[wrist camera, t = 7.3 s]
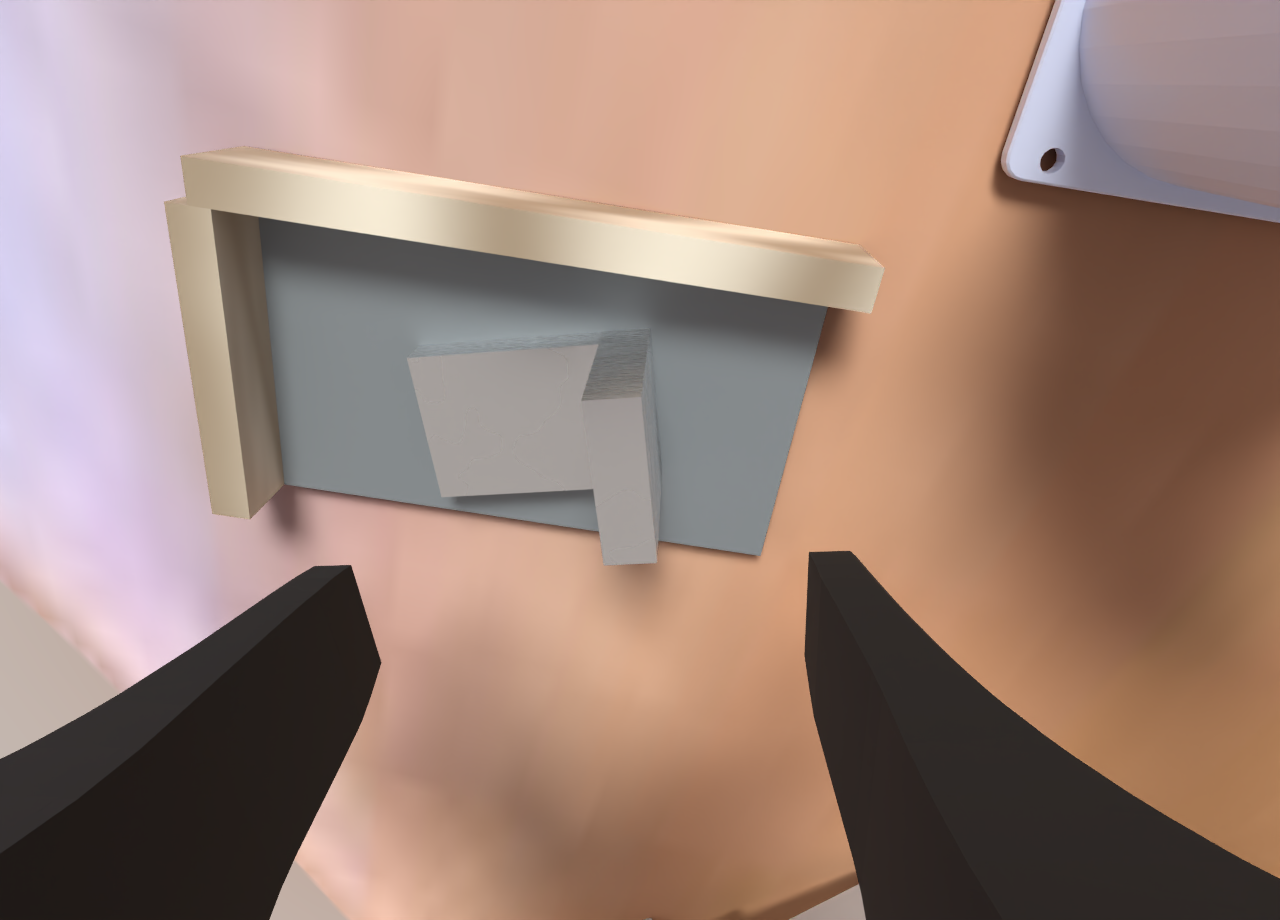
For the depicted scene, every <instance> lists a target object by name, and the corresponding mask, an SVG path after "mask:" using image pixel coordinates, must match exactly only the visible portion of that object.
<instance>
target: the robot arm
mask: <svg viewBox="0 0 1280 920" xmlns="http://www.w3.org/2000/svg"><path fill="white" fill-rule="evenodd" d="M1051 148H1054V149H1055V151H1056V153H1057V159H1056V162H1055V164H1054V165H1053V167H1052V168H1050V169H1049V170H1047V171H1042V169H1041V167H1040V160H1041V158H1042V156H1043V155H1044V153H1045V152H1046V151H1048V150H1049V149H1051ZM1001 165H1002V169H1003V171H1004V172H1005V173H1006V174H1007V176H1009V177H1012V178H1014V179H1017V180H1020V181H1026V182H1032V183H1038V184H1044V185H1050V186H1056V187H1063V188H1069V189H1075V190H1081V191H1087V192H1093V193H1099V194H1106V195H1112V196H1118V197H1124V198H1130V199H1136V200H1142V201H1149V202H1155V203H1161V204H1167V205H1173V206H1179V207H1185V208H1192V209H1198V210H1204V211H1210V212H1216V213H1222V214H1228V215H1235V216H1241V217H1247V218H1253V219H1259V220H1265V221H1271V222H1278V223H1280V0H1055V3H1054V6H1053V9H1052V12H1051V15H1050V18H1049V20H1048V23H1047V26H1046V29H1045V32H1044V35H1043V38H1042V40H1041V43H1040V46H1039V49H1038V52H1037V55H1036V57H1035V60H1034V63H1033V66H1032V69H1031V72H1030V75H1029V77H1028V80H1027V83H1026V86H1025V89H1024V92H1023V95H1022V97H1021V100H1020V103H1019V106H1018V109H1017V112H1016V115H1015V117H1014V120H1013V123H1012V126H1011V129H1010V132H1009V135H1008V137H1007V140H1006V143H1005V146H1004V149H1003V152H1002V157H1001ZM805 662H806V669H807V675H808V682H809V689H810V695H811V701H812V708H813V714H814V719H815V722H816V726H817V730H818V734H819V737H820V741H821V745H822V748H823V752H824V756H825V759H826V763H827V767H828V770H829V774H830V777H831V781H832V785H833V788H834V792H835V795H836V799H837V803H838V806H839V810H840V813H841V817H842V821H843V824H844V828H845V831H846V835H847V839H848V842H849V846H850V849H851V853H852V857H853V861H854V865H855V869H856V873H857V878H858V882H859V886H860V891H861V896H862V901H863V907H864V912H865V918H866V920H1280V879H1279V878H1277V877H1275V876H1273V875H1271V874H1269V873H1267V872H1265V871H1264V870H1262V869H1260V868H1258V867H1256V866H1254V865H1252V864H1250V863H1248V862H1246V861H1244V860H1242V859H1241V858H1239V857H1237V856H1235V855H1233V854H1232V853H1230V852H1228V851H1226V850H1225V849H1223V848H1221V847H1219V846H1218V845H1216V844H1214V843H1212V842H1211V841H1209V840H1207V839H1205V838H1204V837H1202V836H1200V835H1198V834H1197V833H1195V832H1193V831H1192V830H1190V829H1188V828H1186V827H1185V826H1183V825H1181V824H1179V823H1178V822H1176V821H1174V820H1172V819H1171V818H1169V817H1167V816H1166V815H1164V814H1162V813H1161V812H1159V811H1158V810H1156V809H1154V808H1153V807H1151V806H1149V805H1148V804H1146V803H1145V802H1143V801H1141V800H1140V799H1138V798H1136V797H1135V796H1133V795H1132V794H1130V793H1128V792H1127V791H1125V790H1124V789H1122V788H1121V787H1119V786H1118V785H1116V784H1115V783H1113V782H1112V781H1110V780H1109V779H1107V778H1106V777H1104V776H1103V775H1101V774H1100V773H1098V772H1097V771H1095V770H1094V769H1092V768H1091V767H1089V766H1088V765H1086V764H1085V763H1083V762H1082V761H1080V760H1079V759H1077V758H1076V757H1074V756H1073V755H1071V754H1070V753H1069V752H1067V751H1066V750H1064V749H1063V748H1062V747H1060V746H1059V745H1057V744H1056V743H1055V742H1053V741H1052V740H1050V739H1049V738H1048V737H1046V736H1045V735H1044V734H1042V733H1041V732H1040V731H1038V730H1037V729H1036V728H1034V727H1033V726H1032V725H1031V724H1029V723H1028V722H1027V721H1025V720H1024V719H1023V718H1022V717H1020V716H1019V715H1018V714H1016V713H1015V712H1014V711H1012V710H1011V709H1010V708H1009V707H1007V706H1006V705H1005V704H1003V703H1002V702H1001V701H1000V700H999V699H997V698H996V697H995V696H994V695H992V694H991V693H990V692H989V691H988V690H987V689H985V688H984V687H983V686H982V685H981V684H980V683H979V682H977V681H976V680H975V679H974V678H973V677H972V676H971V675H970V674H969V673H967V672H966V671H965V670H964V669H963V668H962V667H961V666H960V665H959V664H957V663H956V662H955V661H954V660H953V659H952V658H951V657H950V656H949V655H948V654H947V653H946V652H945V651H944V650H943V649H942V648H941V647H940V646H939V645H938V644H937V643H936V642H935V641H934V640H933V639H932V638H931V637H930V636H929V635H928V634H927V633H926V632H925V631H924V630H923V629H922V628H921V627H920V626H919V625H918V624H917V623H916V622H915V621H914V620H913V619H912V618H911V617H910V616H909V615H908V614H907V613H906V612H905V611H904V610H903V609H902V608H901V607H900V605H899V604H898V603H897V602H896V601H895V600H894V599H893V598H892V597H891V596H890V595H889V593H888V592H887V591H886V590H885V589H884V588H883V587H882V586H881V584H880V583H879V582H878V581H877V580H876V579H875V578H874V577H873V575H872V574H871V573H870V572H869V571H868V570H867V568H866V567H865V566H864V565H863V564H862V563H861V562H860V560H859V559H858V558H857V557H856V556H855V555H854V554H853V553H852V552H851V551H832V552H809V565H808V588H807V611H806V634H805ZM380 665H381V660H380V657H379V654H378V651H377V647H376V644H375V641H374V638H373V634H372V631H371V628H370V625H369V622H368V618H367V615H366V612H365V609H364V605H363V602H362V599H361V596H360V592H359V589H358V586H357V583H356V580H355V576H354V573H353V570H352V567H351V565H339V566H314V567H312V568H311V569H309V570H307V571H305V572H304V573H302V574H300V575H299V576H297V577H295V578H294V579H292V580H291V581H289V582H288V583H286V584H285V585H283V586H282V587H280V588H279V589H277V590H276V591H274V592H273V593H271V594H270V595H268V596H267V597H265V598H264V599H262V600H261V601H259V602H258V603H257V604H255V605H254V606H252V607H251V608H249V609H248V610H246V611H245V612H243V613H242V614H241V615H239V616H238V617H236V618H235V619H233V620H232V621H230V622H229V623H227V624H226V625H224V626H223V627H222V628H220V629H219V630H217V631H216V632H214V633H213V634H211V635H210V636H208V637H207V638H205V639H204V640H203V641H201V642H200V643H198V644H197V645H195V646H194V647H192V648H191V649H189V650H188V651H186V652H184V653H183V654H181V655H180V656H178V657H177V658H175V659H174V660H172V661H170V662H169V663H167V664H166V665H164V666H163V667H161V668H159V669H158V670H156V671H155V672H153V673H152V674H150V675H149V676H147V677H145V678H144V679H142V680H141V681H139V682H138V683H136V684H134V685H133V686H131V687H130V688H128V689H127V690H125V691H123V692H122V693H120V694H119V695H117V696H115V697H114V698H112V699H110V700H109V701H107V702H105V703H103V704H102V705H100V706H98V707H97V708H95V709H93V710H91V711H90V712H88V713H86V714H85V715H83V716H81V717H79V718H77V719H76V720H74V721H72V722H70V723H68V724H66V725H65V726H63V727H61V728H59V729H57V730H55V731H54V732H52V733H50V734H48V735H46V736H45V737H43V738H41V739H39V740H37V741H35V742H33V743H31V744H30V745H28V746H26V747H24V748H22V749H20V750H18V751H16V752H14V753H12V754H10V755H8V756H6V757H4V758H1V759H0V920H269V919H270V916H271V914H272V911H273V908H274V906H275V903H276V900H277V898H278V895H279V893H280V890H281V888H282V885H283V883H284V881H285V879H286V877H287V874H288V872H289V870H290V868H291V865H292V863H293V861H294V859H295V857H296V854H297V852H298V850H299V848H300V846H301V844H302V842H303V840H304V838H305V836H306V834H307V832H308V830H309V828H310V826H311V824H312V822H313V820H314V818H315V816H316V814H317V812H318V810H319V808H320V806H321V804H322V802H323V800H324V798H325V796H326V794H327V792H328V790H329V788H330V786H331V784H332V782H333V780H334V778H335V776H336V774H337V772H338V770H339V768H340V766H341V764H342V762H343V760H344V758H345V756H346V754H347V751H348V749H349V747H350V745H351V743H352V741H353V739H354V737H355V735H356V733H357V731H358V729H359V726H360V724H361V722H362V720H363V717H364V714H365V711H366V708H367V705H368V703H369V700H370V697H371V694H372V691H373V688H374V685H375V681H376V678H377V675H378V672H379V669H380Z"/></svg>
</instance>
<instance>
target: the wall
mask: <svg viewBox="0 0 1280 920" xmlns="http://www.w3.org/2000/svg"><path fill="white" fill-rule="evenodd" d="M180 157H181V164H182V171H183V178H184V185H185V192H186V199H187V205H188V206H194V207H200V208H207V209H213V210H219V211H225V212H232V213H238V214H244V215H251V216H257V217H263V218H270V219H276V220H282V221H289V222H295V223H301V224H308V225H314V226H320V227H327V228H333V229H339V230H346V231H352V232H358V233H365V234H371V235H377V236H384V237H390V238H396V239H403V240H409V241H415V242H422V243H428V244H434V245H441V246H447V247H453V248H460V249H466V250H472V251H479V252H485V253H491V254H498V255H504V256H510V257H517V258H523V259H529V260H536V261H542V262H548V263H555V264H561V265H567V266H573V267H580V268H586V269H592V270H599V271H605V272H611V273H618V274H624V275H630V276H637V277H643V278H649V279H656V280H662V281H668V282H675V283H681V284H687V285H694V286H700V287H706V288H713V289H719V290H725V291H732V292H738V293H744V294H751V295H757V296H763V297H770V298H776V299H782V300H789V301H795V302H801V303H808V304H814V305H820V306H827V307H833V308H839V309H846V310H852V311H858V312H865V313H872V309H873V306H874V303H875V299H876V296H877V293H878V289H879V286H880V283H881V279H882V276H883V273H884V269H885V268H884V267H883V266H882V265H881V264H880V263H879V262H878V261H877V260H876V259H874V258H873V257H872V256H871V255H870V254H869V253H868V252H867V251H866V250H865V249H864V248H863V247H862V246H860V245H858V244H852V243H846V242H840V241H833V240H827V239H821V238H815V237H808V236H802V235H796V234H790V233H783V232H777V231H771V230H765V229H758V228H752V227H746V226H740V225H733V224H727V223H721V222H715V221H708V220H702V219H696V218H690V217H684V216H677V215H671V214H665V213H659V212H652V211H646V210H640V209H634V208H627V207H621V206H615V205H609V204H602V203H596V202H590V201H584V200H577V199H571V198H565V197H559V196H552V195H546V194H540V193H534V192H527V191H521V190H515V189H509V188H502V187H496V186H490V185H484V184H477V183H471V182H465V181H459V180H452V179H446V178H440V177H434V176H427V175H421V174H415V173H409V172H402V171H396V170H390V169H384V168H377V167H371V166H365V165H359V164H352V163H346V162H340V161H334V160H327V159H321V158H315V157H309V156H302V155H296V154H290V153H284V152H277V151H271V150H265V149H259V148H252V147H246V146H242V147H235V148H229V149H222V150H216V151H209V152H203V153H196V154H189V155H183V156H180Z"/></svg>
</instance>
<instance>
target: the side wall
mask: <svg viewBox="0 0 1280 920" xmlns="http://www.w3.org/2000/svg"><path fill="white" fill-rule="evenodd" d="M164 204H165V211H166V217H167V224H168V230H169V237H170V243H171V250H172V256H173V263H174V269H175V275H176V282H177V288H178V295H179V301H180V308H181V314H182V321H183V327H184V334H185V340H186V347H187V353H188V359H189V366H190V372H191V379H192V385H193V392H194V398H195V405H196V411H197V418H198V424H199V431H200V437H201V443H202V450H203V456H204V463H205V469H206V476H207V482H208V489H209V495H210V502H211V508H212V514H217V515H223V516H230V517H237V518H244V519H251V518H252V517H253V516H254V515H255V514H256V513H257V512H258V511H259V510H260V509H261V508H262V507H263V506H264V505H265V504H266V503H267V502H268V501H269V500H270V499H271V498H272V496H273V495H274V494H275V493H276V492H277V491H278V490H279V489H280V488H281V487H282V486H283V485H284V475H283V465H282V454H281V444H280V434H279V424H278V413H277V403H276V393H275V383H274V373H273V362H272V352H271V342H270V332H269V321H268V311H267V301H266V291H265V280H264V270H263V260H262V250H261V239H260V229H259V219H258V217H257V216H251V215H244V214H238V213H232V212H225V211H219V210H213V209H207V208H200V207H194V206H188V205H187V199H186V197H182V198H178V199H174V200H170V201H165V202H164Z"/></svg>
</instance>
